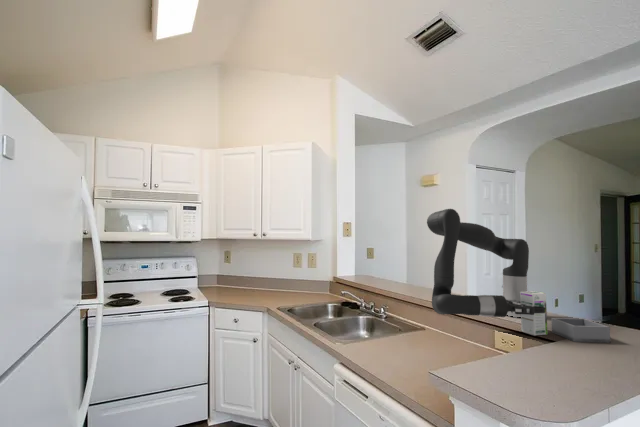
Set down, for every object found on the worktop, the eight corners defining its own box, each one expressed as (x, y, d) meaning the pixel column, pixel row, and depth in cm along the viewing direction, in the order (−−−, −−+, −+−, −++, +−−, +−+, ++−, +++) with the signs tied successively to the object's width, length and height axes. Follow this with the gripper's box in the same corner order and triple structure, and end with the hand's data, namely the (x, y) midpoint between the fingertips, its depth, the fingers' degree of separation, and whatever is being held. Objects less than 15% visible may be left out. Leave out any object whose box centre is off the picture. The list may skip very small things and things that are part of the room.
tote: (551, 332, 126) (551, 318, 127) (584, 332, 126) (584, 318, 126) (573, 341, 115) (573, 326, 115) (610, 342, 115) (609, 327, 115)
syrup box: (534, 335, 121) (533, 293, 122) (520, 331, 127) (519, 290, 128) (547, 334, 123) (546, 292, 124) (533, 330, 128) (532, 290, 129)
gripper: (498, 298, 120) (548, 300, 118) (483, 292, 134) (527, 293, 133) (498, 321, 120) (549, 323, 118) (483, 312, 134) (528, 313, 132)
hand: (537, 307), depth 125 cm, fingers open, 8 cm apart
